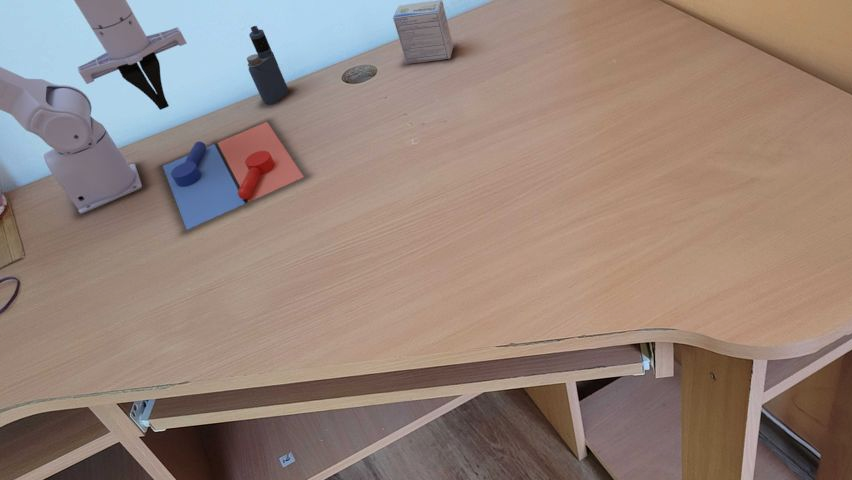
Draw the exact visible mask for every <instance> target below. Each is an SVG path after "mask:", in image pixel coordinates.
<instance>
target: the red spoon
mask: <svg viewBox="0 0 852 480" xmlns="http://www.w3.org/2000/svg"><path fill="white" fill-rule="evenodd" d="M245 164H246V166H247V168H248V170H249V171H248V173H247V175H246V177H245V179H244V181H243V183H242V185H241V186H240V188H239V190H238V196H239V197H240V198H241V199H243V200H246V199H249V198H250V197H251V195H252V193H253V191H254V189H255V187H256V185H257V183H258V181H259V179H260V177H261V175H263V174H266V173H268V172H269V171H271V170H272V169H273V167H274V165H275V163H274V161H273V159H272V157H271V155H270V153H269V152H268V151H258V152H255V153H253V154H251V155H250V156H248V157H247V159H246V160H245Z"/></svg>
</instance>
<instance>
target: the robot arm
mask: <svg viewBox="0 0 852 480" xmlns="http://www.w3.org/2000/svg"><path fill="white" fill-rule="evenodd" d="M73 1H74V3H75V5H76V6H77V7H78V9H79V10H80V12H81V14H82V15H83V16H84V18H85V20H86V22H87V24H88V25H89V27H90V28H91V31H93V33H94V35H95V36H96V39H98V41H99V43H100V44H101V46H102V48H103V49H104V51H105V52H104V53H102V54H101V55H99V56H97V57H95V58H93V59H92V60H90V61H88V62H86V63H84V64H81V65H79V66H77V71H78V73H79V75H80V76H81V78H82V79H83V81H84V83H85V84H86V85H88V84H91V83H93V82H95V80H96V79H98V78H101V77H104V76H106V75H108V74H111V73H114V72H116V71H119V73H120V75H121V77H122V79H124V80H125V81H126V82H128V83H130V84H131V85H132V86H134V87H135V88H137V89H138V90H139V91H140V92H142V93H144V95H145V96H146V97H148V98H149V99H150V101H152V102H153V103H154V104H155V105H156V107H157V108H158V109H159V111H162V110H164V109H166V108H168V107H170V104H169V102H168V101H167V99H166V96H165V92H164V88H163V84H162V77H161V65H160V61H159V59H158V56H157V54H160V53H162V52H164V51H168V50H170V49H172V48H174V47H177V46H179V47H182V46H184V45H186V44H187V40H186V39H185V37H184V35H183V33H182V31H181V30H180V28H179V26H177V27H174V28H171V29H168V30H164V31H161V32H157V33H153V34H149V35H147V34H146V33H145V31H144V29H143V28H142V26H141V24H140V22H139V21H138V19H137V17H136V15H135V14H134V12H133V10H132V8H131V7H130V4H129V3H128V1H127V0H73ZM0 111H3V112H5V113H7V114H9V115H11V116H12V118H14V119H15V121H17V123H18V124H19V125H20V126H21V127H22V128H23V129H24V130H25V131H26V132H29V133H31V134H34V135H36V136H37V137H39V138H40V139H41V140H42V141H43V142H44V143H45V144H46V145H47V146H49V147H50V148H52V149H51V150H48V151H47V152H45V153H44V154H43V159H44V162H45V164H46V166H47V168H48V170H49V171H50V173H51V175H52V177H53V178H54V179H55V181H56V182H57V183H58V185H59V187H61V188H62V190H63V191H64V192H65V194H66V195H67V197H68V198H69V199H70V201H71V202H72V203H73V204H74V206H75V207H76V208H77V211H78V213H79V214H82V215H83V214H85V213H87V212H90V211H93V210H94V209H96V208H99V207H102V206H104V205H106V204H108V203H111V202H113V201H115V200H118V199H120V198H123V197H125V196H128V195H129V194H131V193H134V192H137V191H139V190H141V189H142V188H143V184H142V181H141V177H140V175H139V172H138V168H137V165H136V164H135V163H130V164H129V163H128V162H127V160H126V159H125V156H123V153H121V151H120V149H119V147H118V146H117V145H116V143H115V141H114V140H113V138H112V137H111V136H110V133H109V132H108V130H106V127H105V126H104V124H103V123H101V122H99V121H98V120H96V119H94V117H92V103H91V101H90V99H89V96H87V94H85V93H84V92H83V91H82V90H80V89H79V88H77V87H74V86H71V85H65V84H55V83H53V82H50V81H47V80H45V79H43V78H25V77H23V76H21V75H19V74H17V73H14V72H13V71H11V70H8V69H6V68H4V67H2V66H0Z"/></svg>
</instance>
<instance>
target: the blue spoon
mask: <svg viewBox="0 0 852 480" xmlns="http://www.w3.org/2000/svg"><path fill="white" fill-rule="evenodd" d="M206 147H207V145H206V144H205V143H204V142H203V141H200V140H199V141H196V142H194V144H193V146H192V148H191V150H190V151H189V153H188V155H189V156H188V155H187V156H188V157H187V159H186V161H185V163H183V164H180V165H178V166H177V167H175V168H174V169H173V170H172V172H171V175H172V177H173V179H174V180H175V182H176V184H177V185H178V186H180V187H186V186H190V185H192V184H194V183H196V182H197V181H198V180H199V179H200V178H201V173H200V171H199V169H198V167H197V166H198V164H199V162H200V160H201V158H202V156H203V154H204V152H205V150H206Z"/></svg>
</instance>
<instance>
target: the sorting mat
mask: <svg viewBox="0 0 852 480" xmlns="http://www.w3.org/2000/svg"><path fill="white" fill-rule="evenodd" d="M258 151H268V152H269V153H270V155H271V157H272V159H273V161H274V163H275V165H274V167H273V169H272V170H271V171H269V172H268V173H266V174H263V175H261V177H260V179H259V181H258V183H257V185H256V187H255V189H254V191H253V193H252V195H251V197H250V198H249V199H246V200H243V199H241V198H240V197H239V196H238V190H239V188H240V186H241V185H242V183H243V181H244V179H245V177H246V175H247V173H248V171H249V170H248V168H247V166H246V164H245V160H246V159H247V157H248V156H250V155H251V154H253V153H255V152H258ZM188 156H189V154H188V155H185V156H183V157H181V158H178V159H176V160H173V161H171V162H169V163H167V164H164V165H162V168H163V171H164V174H165V176H166V178H167V181H168V184H169V187H170V189H171V192H172V194H173V197H174V200H175V203H176V205H177V208H178V210H179V213H180V215H181V218H182V221H183V224H184V226H185V230H187V231H189V230H190V229H192V228H195V227H197V226H200V225H201V224H204V223H205V222H208V221H210V220H213V219H215V218H217V217H220V216H221V215H225V214H226V213H228V212H230V211H232V210H234V209H237V208H239V207H241V206H243V205H246V204H248V203H250V202H253V201H255V200H257V199H259V198H261V197H263V196H265V195H268V194H270V193H272V192H274V191H277V190H279V189H281V188H283V187H286V186H287V185H290V184H292V183H294V182H296V181H299V180H301V179H303V178H305V177H304V174H302V171H301V170H300V169H299V167H298V166H297V164H296V163H295V161H294V159H293V158H292V157H291V155H290V154H289V152H288V151H287V149H286V148H285V146H284V144H283V143H282V142H281V140H280V138H279V137H278V136H277V134H276V133H275V131H274V129H273V128H272V127H271V125H270V124H269V122H268V121H265V122H262V123H260V124H258V125H256V126H253V127H251V128H249V129H247V130H244V131H242V132H239V133H237V134H235V135H232V136H230V137H228V138H225V139H223V140H220V141H218V142H216V143H213V144H211V145H209V146H206V150H205V152H204V154H203V156H202V158H201V160H200V162H199V164H198V166H197V167H198V169H199V171H200V173H201V178H200V179H199V180H198V181H197V182H196V183H194V184H192V185H190V186H186V187H180V186H178V185H177V184H176V182H175V180H174V179H173V177H172V175H171V172H172V170H173V169H174V168H175V167H177V166H178V165H180V164H183V163H185V161H186V159H187V157H188Z"/></svg>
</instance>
